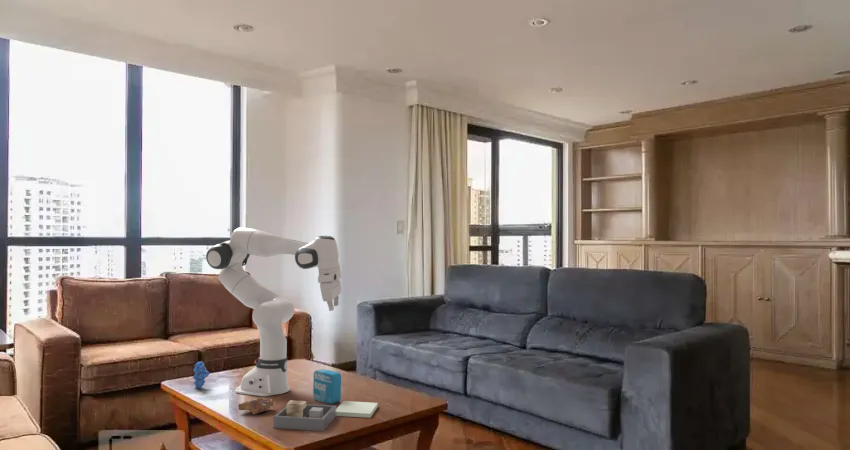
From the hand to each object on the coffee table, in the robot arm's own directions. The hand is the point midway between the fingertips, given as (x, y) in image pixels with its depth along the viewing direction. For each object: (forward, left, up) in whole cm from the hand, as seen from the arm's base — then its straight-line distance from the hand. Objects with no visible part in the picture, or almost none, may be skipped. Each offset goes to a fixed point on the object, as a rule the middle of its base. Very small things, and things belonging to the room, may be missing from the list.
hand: (334, 308), depth 240 cm
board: (+13, -13, -38) cm, 42 cm away
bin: (-2, -29, -38) cm, 47 cm away
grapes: (-60, +7, -38) cm, 71 cm away
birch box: (-5, -29, -38) cm, 48 cm away
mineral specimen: (-24, -21, -38) cm, 49 cm away
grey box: (+2, -29, -38) cm, 47 cm away
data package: (-2, -2, -38) cm, 38 cm away
